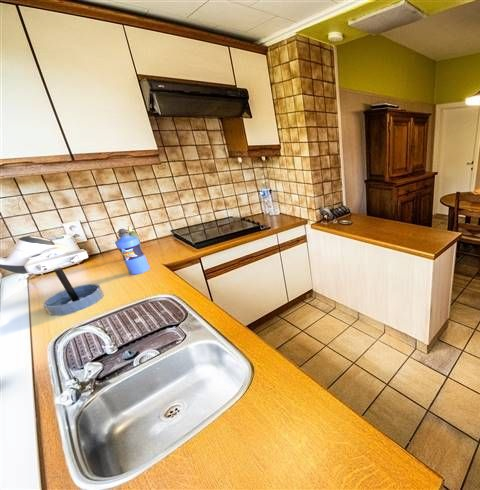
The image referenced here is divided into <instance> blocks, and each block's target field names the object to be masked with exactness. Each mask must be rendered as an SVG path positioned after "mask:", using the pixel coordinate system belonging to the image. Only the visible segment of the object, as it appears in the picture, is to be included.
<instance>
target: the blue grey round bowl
mask: <svg viewBox="0 0 480 490" xmlns="http://www.w3.org/2000/svg"><path fill="white" fill-rule="evenodd" d="M73 289H74V291H75V292H76V294H77V296H78V297H84V298H82V299H80V300H77V301H74V302H71V303H68V302H69V301H71V298H70V296H69V295H68V293H67V291H66V290H65V289H64V290H63V291H60V292H58V293H56V294H53V295H52V296H50V297H48V298H47V299H46V300H45V301H44V302H43V303H42V305H43V308H44V309H45V311H46V312H47V314H48V315H49V316H53V317H58V316H65V315H69V314H73V313H76V312H79V311H83V310H84V309H87V308H89V307H91V306H94V305H95V304H97V303H98V302H100V301H101V300H102V299H103V297H105V294H104V292H103V290H102V288H101V286H100V285H99V284H96V283H90V284H83V285H79V286H74V287H73Z"/></svg>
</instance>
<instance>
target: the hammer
mask: <svg viewBox="0 0 480 490" xmlns="http://www.w3.org/2000/svg"><path fill="white" fill-rule="evenodd" d="M53 272H54V273H55V275H56V277H57V279H58V280H59V281H60V283H61V285H62V287H63V288H64V291H65V290H66V291H67V293H68V295H69V296H70V298H71V301H69V302H68V303H71V302H74V301H77V300H80V299H82V298H84V297H78V296H77V294H76V292H75V291H74V289H73V288H74V287H73V286H72V284H71V283H70V280H69V279H68V277H67V275H66V274H65V271H64V270H63V268H62V267H56V268H55V269H53Z"/></svg>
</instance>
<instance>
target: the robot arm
mask: <svg viewBox="0 0 480 490" xmlns="http://www.w3.org/2000/svg"><path fill="white" fill-rule="evenodd" d="M88 258H89V255H88V251H87V250H85V249H83V248H82V249H76V250H72V251H70V250H69V248H68V247H67V246H66V245H65V244H62V243H59V242H53V240H52V239H50V238H47V237H43V236H39V235H26V236H22V237H19V238H18V239H17V241H16V242H15V244H14V246H13V247H12V249H11V251H10V252H9V254H8V255H7V257H2V256H0V269H1V270H5V271H8V272H11V273H14V274H18V275H19V274H21V275H27V274H32V273H36V272H41V271H42V272H45V271H47V270H48V269H52V268H61V267H64V266H66V265H68V264H75V263H77V262H79V261H83V260H86V259H88Z"/></svg>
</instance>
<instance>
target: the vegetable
mask: <svg viewBox="0 0 480 490" xmlns="http://www.w3.org/2000/svg"><path fill="white" fill-rule="evenodd" d="M127 232H129V236H135V237H137V238H138V240H139V244H140V248H141V250H142V251H143V246H142V244H141V240H140V236H139V235H138V233H137V232H136V231H134V230H133V229H132V228H131V226H130V225H129V226H127Z"/></svg>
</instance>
